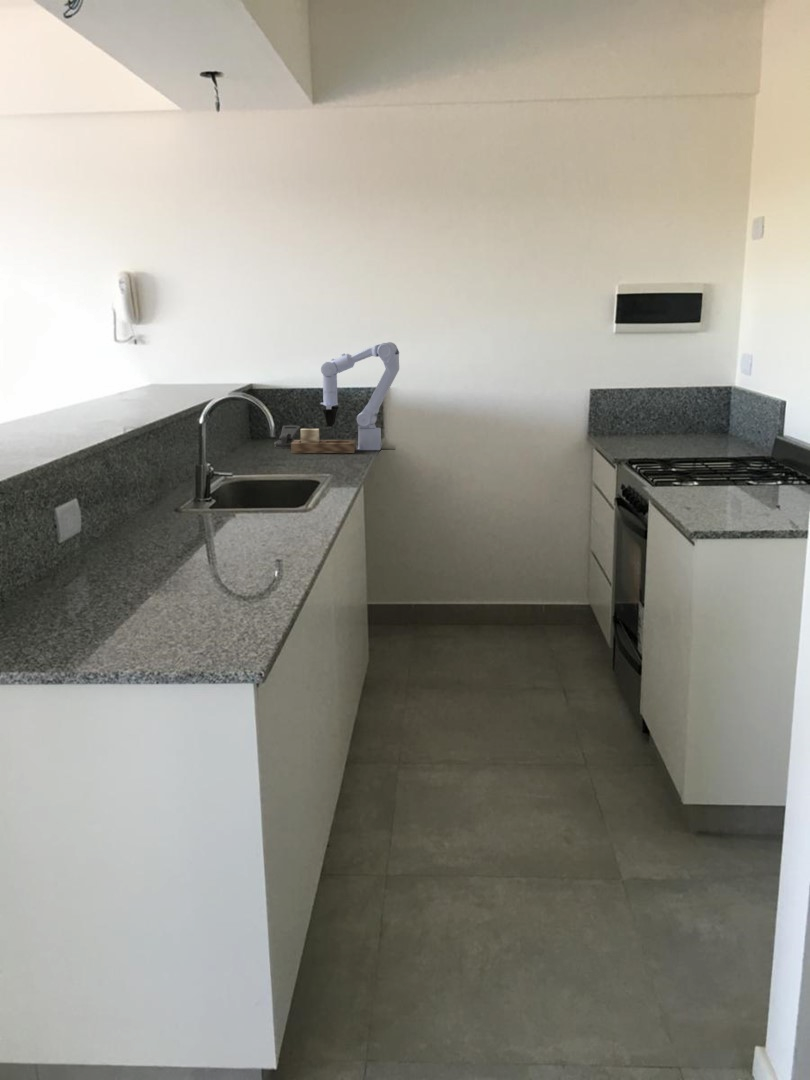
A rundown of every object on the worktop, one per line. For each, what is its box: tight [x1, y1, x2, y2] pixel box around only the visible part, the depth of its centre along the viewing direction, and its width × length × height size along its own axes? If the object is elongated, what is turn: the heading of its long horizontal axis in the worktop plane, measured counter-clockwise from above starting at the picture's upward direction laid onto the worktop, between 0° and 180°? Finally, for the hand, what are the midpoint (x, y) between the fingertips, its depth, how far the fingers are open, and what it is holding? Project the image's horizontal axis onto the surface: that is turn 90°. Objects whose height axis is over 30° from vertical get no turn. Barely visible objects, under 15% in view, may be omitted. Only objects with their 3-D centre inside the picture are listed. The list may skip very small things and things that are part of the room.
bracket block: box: [299, 428, 320, 443], centre depth 365 cm, size 7×4×8 cm, turn 89°
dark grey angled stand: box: [273, 424, 302, 449], centre depth 386 cm, size 9×7×25 cm
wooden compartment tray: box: [290, 439, 357, 454], centre depth 366 cm, size 25×10×4 cm, turn 89°
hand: (330, 425), depth 374 cm, fingers open, 7 cm apart
